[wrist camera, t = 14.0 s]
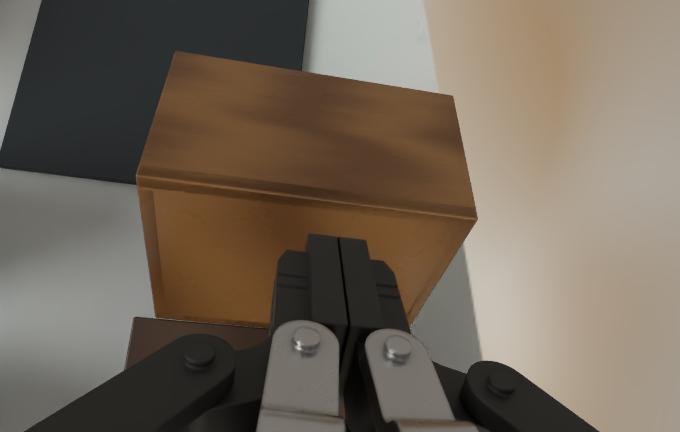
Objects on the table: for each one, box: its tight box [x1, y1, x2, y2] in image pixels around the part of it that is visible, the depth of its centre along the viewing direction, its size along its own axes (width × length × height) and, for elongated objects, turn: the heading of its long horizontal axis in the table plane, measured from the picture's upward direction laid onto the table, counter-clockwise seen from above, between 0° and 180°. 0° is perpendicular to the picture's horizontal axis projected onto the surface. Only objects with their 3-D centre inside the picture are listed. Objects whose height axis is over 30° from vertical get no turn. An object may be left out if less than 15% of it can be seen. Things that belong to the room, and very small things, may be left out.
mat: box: [0, 0, 309, 185], centre depth 38 cm, size 18×22×1 cm
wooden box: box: [136, 51, 478, 328], centre depth 25 cm, size 12×10×7 cm
